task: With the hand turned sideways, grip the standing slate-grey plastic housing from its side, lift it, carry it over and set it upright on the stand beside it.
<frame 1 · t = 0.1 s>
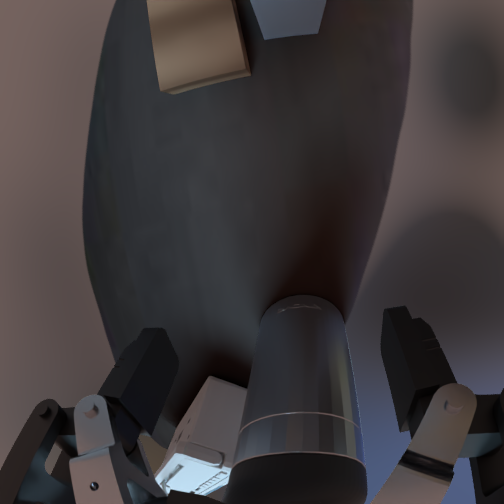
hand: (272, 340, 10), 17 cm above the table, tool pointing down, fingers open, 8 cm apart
stand: (201, 31, 20), on the table
stereo radio cassette player: (210, 411, 40), on the table
housing: (285, 14, 18), on the table
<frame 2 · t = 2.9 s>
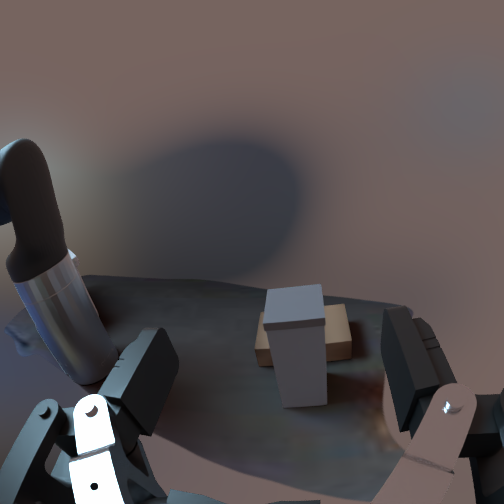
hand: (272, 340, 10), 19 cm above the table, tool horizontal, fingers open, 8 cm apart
stand: (304, 343, 35), on the table
housing: (305, 389, 29), on the table
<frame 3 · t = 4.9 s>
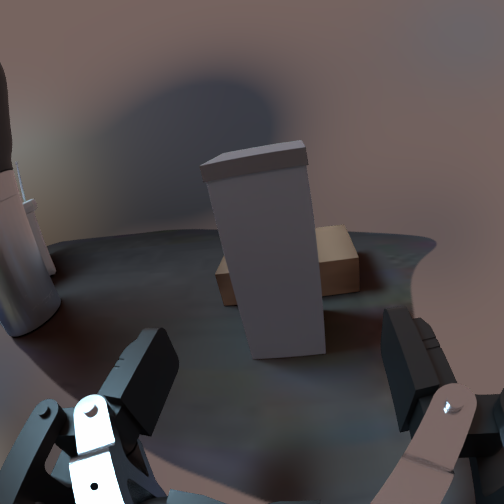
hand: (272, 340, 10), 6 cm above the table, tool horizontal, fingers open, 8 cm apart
stand: (291, 277, 26), on the table
stereo radio cassette player: (38, 271, 45), on the table
housing: (289, 333, 19), on the table
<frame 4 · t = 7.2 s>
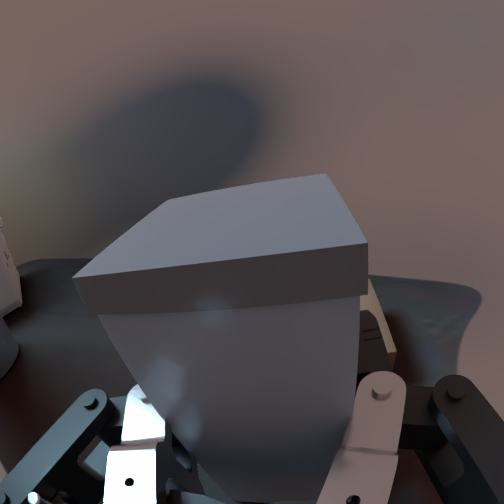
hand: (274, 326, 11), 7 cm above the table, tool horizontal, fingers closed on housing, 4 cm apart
stand: (293, 356, 18), on the table
stereo radio cassette player: (8, 298, 36), on the table
housing: (288, 462, 11), on the table, touching gripper
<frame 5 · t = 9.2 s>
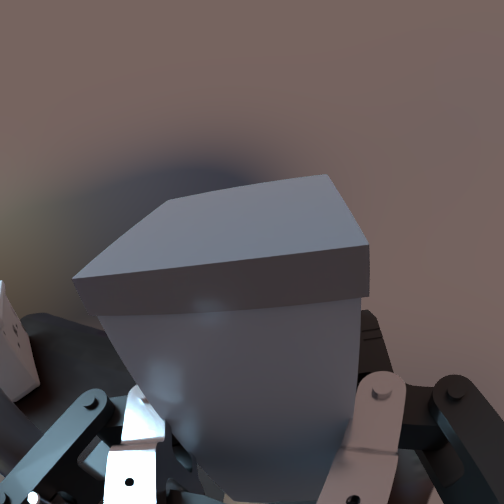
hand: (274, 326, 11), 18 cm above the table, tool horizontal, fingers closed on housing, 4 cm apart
stereo radio cassette player: (22, 367, 36), on the table
housing: (288, 462, 11), point 11 cm above the table, touching gripper
when the fingers open (11 cm above the table, at t = 11.1 s): housing drops 1 cm, resting on stand.
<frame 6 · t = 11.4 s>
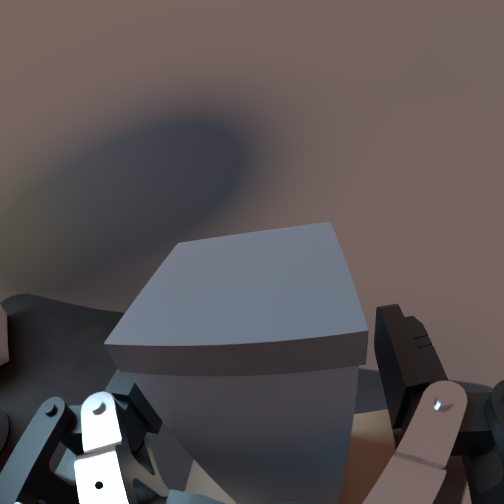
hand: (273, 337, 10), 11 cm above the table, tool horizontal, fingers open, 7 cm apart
stand: (296, 487, 13), on the table
housing: (291, 471, 12), point 3 cm above the table, touching stand
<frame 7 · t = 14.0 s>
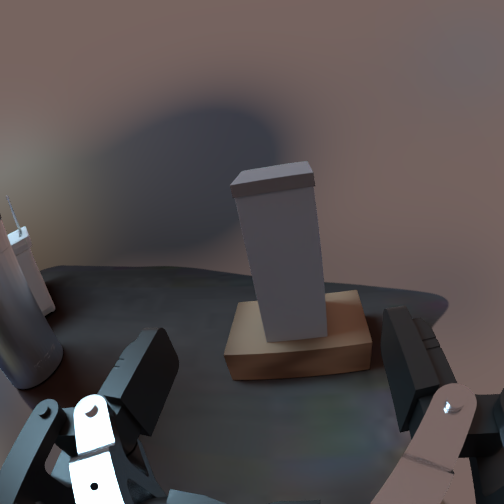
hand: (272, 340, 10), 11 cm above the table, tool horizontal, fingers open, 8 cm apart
stand: (300, 347, 24), on the table
stereo radio cassette player: (37, 303, 43), on the table
housing: (296, 320, 23), point 3 cm above the table, touching stand
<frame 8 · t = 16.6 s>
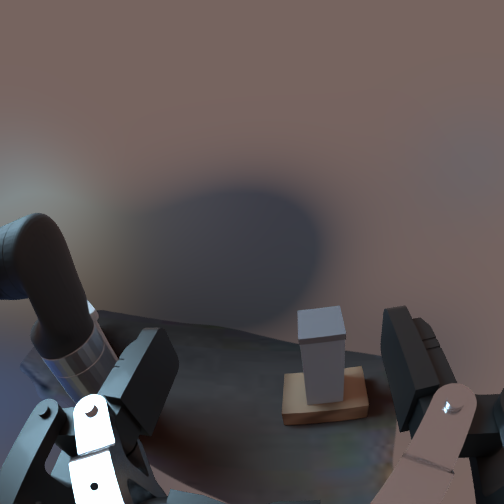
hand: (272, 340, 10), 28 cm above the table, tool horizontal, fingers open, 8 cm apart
stand: (324, 402, 36), on the table
housing: (324, 389, 35), point 3 cm above the table, touching stand
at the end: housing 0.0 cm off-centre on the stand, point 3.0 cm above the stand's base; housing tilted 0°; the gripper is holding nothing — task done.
